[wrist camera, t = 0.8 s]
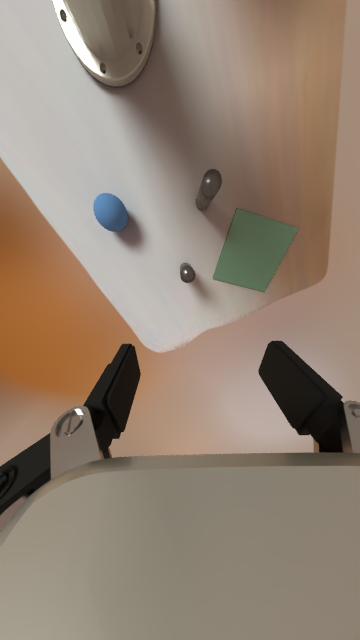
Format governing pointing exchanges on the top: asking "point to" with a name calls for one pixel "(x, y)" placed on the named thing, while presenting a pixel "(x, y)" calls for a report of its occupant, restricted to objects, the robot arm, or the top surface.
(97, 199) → the ball
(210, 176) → the post
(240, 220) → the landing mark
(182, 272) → the post
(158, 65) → the top surface
